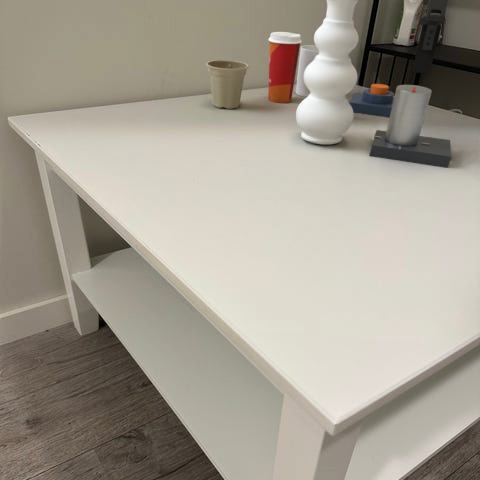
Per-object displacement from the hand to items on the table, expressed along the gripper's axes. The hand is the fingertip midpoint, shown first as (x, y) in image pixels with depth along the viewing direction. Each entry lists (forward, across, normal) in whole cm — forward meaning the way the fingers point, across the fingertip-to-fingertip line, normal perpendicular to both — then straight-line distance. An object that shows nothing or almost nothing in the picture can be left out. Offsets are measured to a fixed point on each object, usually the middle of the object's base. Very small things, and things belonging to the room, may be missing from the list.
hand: (421, 65), depth 82 cm
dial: (+13, 0, 0) cm, 13 cm away
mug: (+15, +36, +22) cm, 45 cm away
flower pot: (+14, +15, +40) cm, 45 cm away
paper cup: (+15, +26, +30) cm, 43 cm away
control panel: (+15, 0, -2) cm, 15 cm away
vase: (+15, 0, +15) cm, 21 cm away
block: (+15, +28, +7) cm, 32 cm away
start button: (+11, +28, +7) cm, 31 cm away
